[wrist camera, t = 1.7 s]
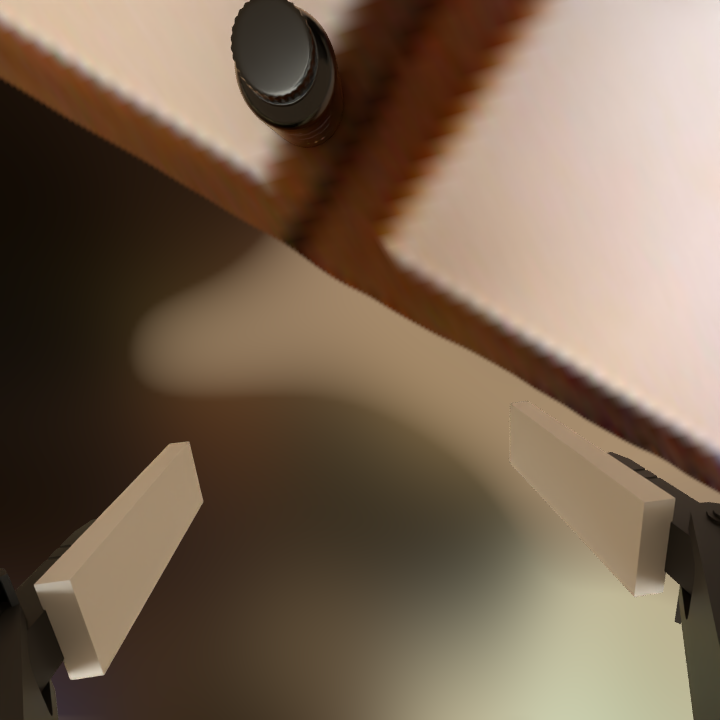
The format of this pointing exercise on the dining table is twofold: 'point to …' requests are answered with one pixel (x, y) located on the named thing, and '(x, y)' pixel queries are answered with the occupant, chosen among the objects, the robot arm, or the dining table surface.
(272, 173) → the dining table surface
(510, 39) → the dining table surface
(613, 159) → the dining table surface
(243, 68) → the supplement bottle
